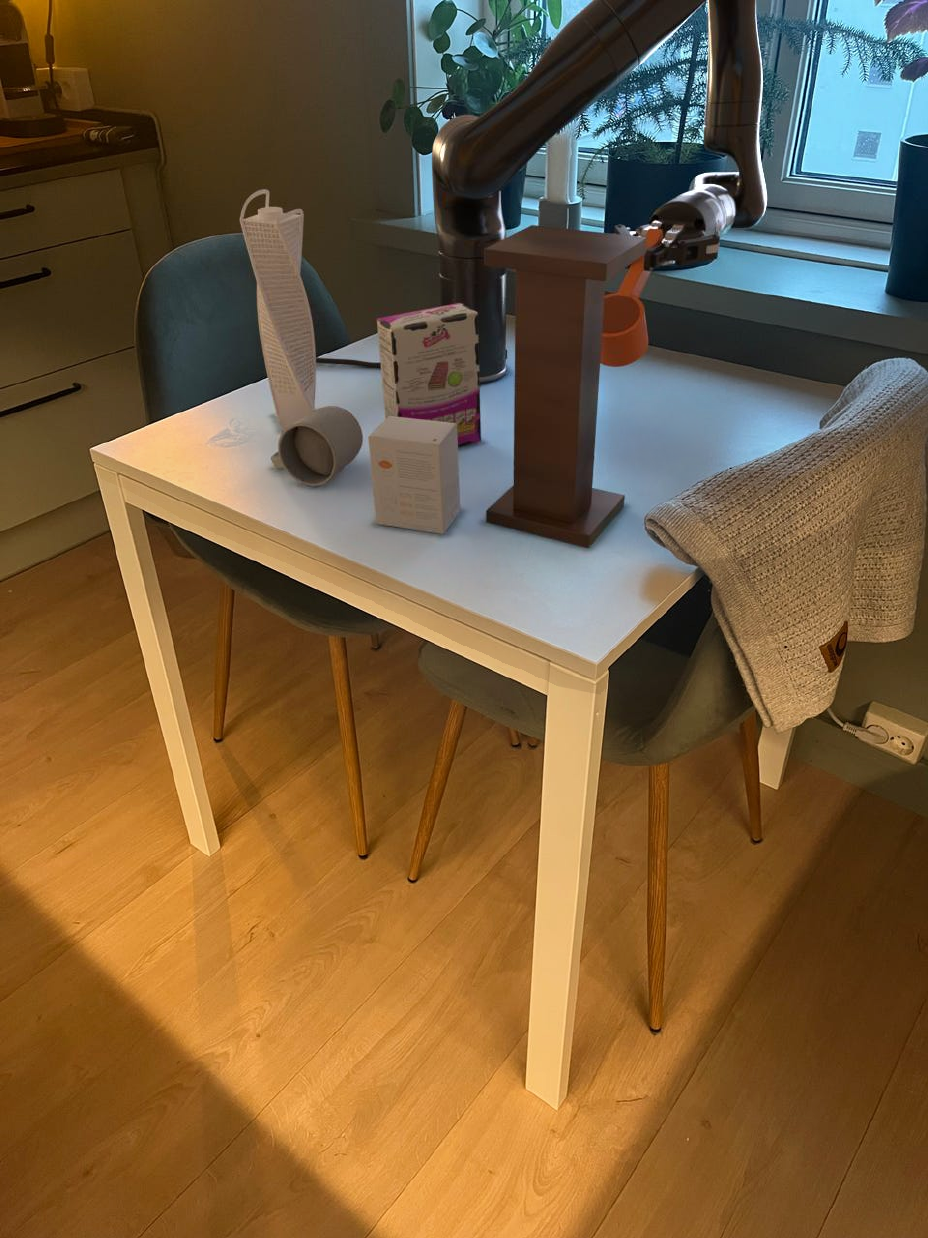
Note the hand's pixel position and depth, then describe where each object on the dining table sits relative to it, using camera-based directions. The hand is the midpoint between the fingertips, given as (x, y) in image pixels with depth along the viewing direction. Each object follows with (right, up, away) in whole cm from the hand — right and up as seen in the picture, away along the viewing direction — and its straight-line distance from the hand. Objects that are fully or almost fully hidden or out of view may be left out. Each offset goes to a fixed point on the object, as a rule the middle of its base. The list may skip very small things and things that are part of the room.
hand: (638, 260), depth 106 cm
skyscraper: (-41, -14, +21) cm, 48 cm away
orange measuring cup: (0, -5, +4) cm, 6 cm away
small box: (-24, -29, -1) cm, 38 cm away
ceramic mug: (-37, -22, +8) cm, 44 cm away
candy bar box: (-23, -18, +14) cm, 33 cm away
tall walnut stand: (-9, -28, -1) cm, 30 cm away
